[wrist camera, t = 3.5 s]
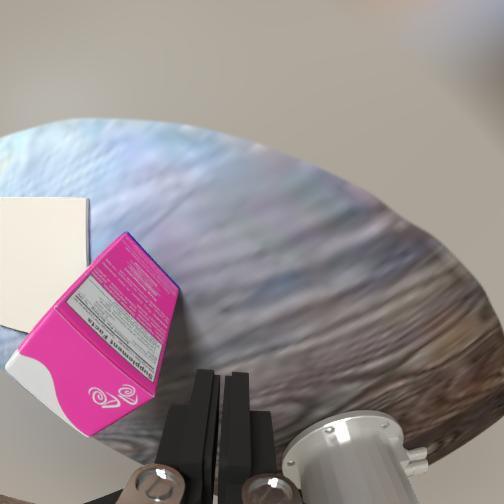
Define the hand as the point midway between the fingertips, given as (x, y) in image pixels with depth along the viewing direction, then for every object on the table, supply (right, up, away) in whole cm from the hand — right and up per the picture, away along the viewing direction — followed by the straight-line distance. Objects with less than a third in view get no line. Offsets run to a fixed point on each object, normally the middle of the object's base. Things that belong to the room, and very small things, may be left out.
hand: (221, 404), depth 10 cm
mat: (-17, +4, +12) cm, 21 cm away
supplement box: (-8, +3, +12) cm, 15 cm away
